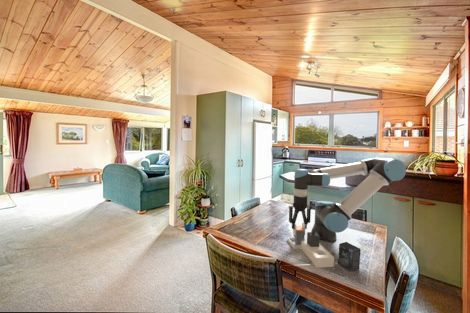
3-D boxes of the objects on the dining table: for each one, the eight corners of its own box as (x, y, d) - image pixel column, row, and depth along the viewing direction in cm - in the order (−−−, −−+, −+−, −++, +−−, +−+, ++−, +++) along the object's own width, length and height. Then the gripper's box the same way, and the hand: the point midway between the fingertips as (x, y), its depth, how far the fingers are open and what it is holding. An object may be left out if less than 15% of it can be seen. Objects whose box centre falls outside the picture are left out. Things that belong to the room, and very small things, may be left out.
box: (337, 263, 110) (338, 243, 110) (345, 261, 113) (346, 241, 112) (351, 272, 103) (352, 250, 102) (359, 269, 106) (361, 248, 105)
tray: (303, 240, 135) (303, 236, 135) (310, 249, 125) (310, 244, 125) (287, 241, 134) (287, 237, 134) (293, 249, 124) (293, 245, 123)
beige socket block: (327, 248, 126) (328, 239, 126) (346, 266, 108) (347, 256, 108) (301, 249, 124) (301, 240, 124) (316, 267, 106) (316, 257, 106)
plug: (300, 242, 132) (301, 226, 131) (304, 246, 127) (304, 229, 126) (293, 242, 131) (293, 226, 131) (296, 246, 127) (296, 229, 126)
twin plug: (314, 249, 123) (315, 226, 122) (318, 253, 118) (320, 230, 117) (306, 249, 122) (307, 227, 121) (310, 254, 117) (311, 230, 116)
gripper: (312, 193, 132) (310, 231, 133) (283, 194, 130) (282, 232, 131) (318, 196, 124) (316, 236, 126) (287, 197, 122) (286, 237, 124)
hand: (298, 234), depth 129 cm, fingers closed on plug, 5 cm apart
